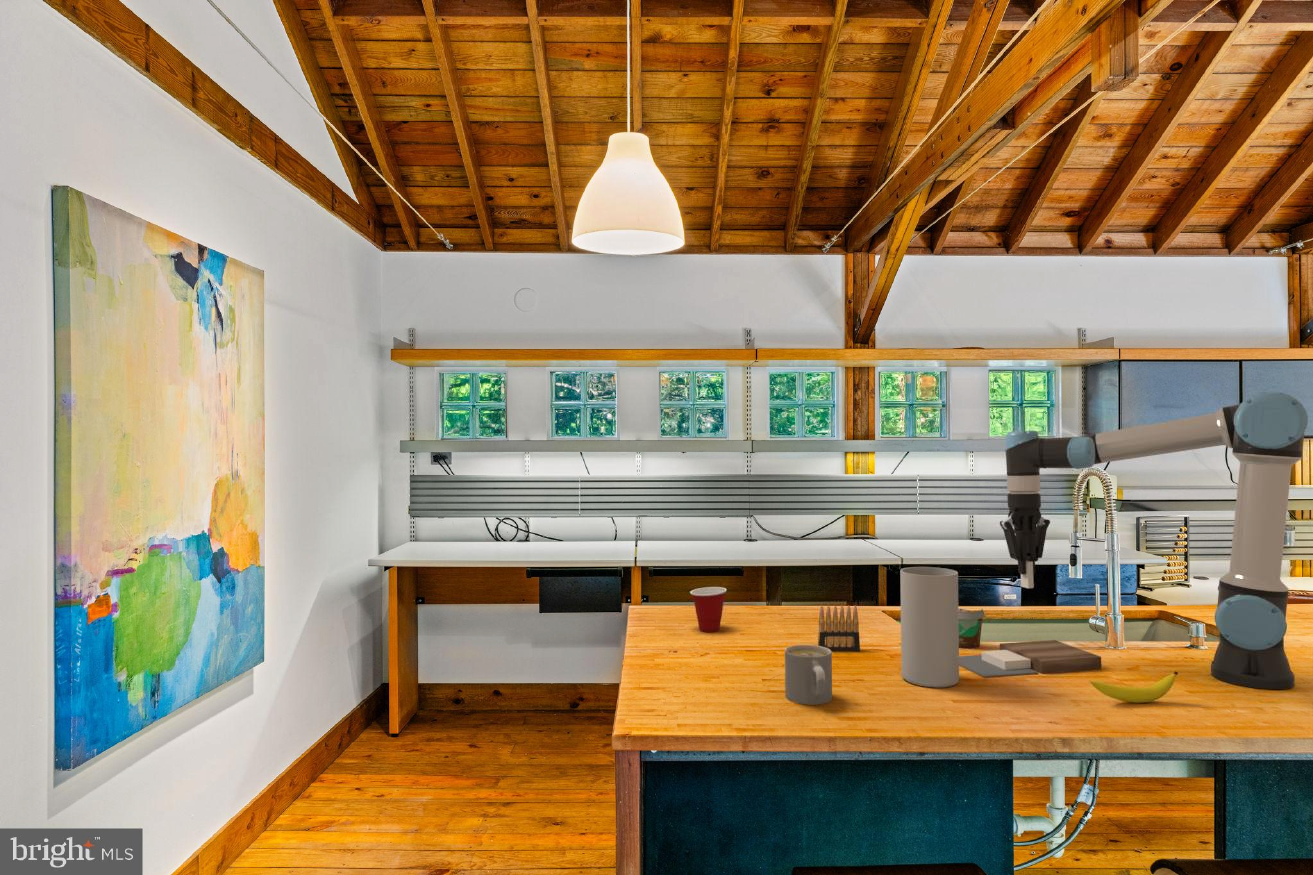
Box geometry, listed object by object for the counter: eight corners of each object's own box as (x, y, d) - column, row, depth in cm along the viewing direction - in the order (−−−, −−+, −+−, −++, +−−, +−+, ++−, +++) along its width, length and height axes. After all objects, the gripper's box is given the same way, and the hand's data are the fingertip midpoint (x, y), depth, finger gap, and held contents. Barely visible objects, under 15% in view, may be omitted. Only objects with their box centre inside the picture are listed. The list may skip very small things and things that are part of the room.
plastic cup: (689, 625, 232) (689, 585, 232) (725, 625, 232) (725, 585, 232) (690, 634, 221) (690, 592, 222) (728, 634, 221) (728, 592, 221)
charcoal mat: (1037, 673, 181) (1037, 672, 181) (983, 677, 179) (983, 675, 179) (996, 655, 197) (996, 653, 197) (945, 658, 195) (945, 657, 195)
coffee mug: (782, 689, 172) (782, 644, 172) (828, 689, 171) (827, 644, 171) (790, 710, 159) (789, 661, 159) (838, 710, 158) (838, 661, 158)
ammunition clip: (858, 649, 204) (858, 604, 204) (860, 651, 202) (859, 605, 202) (817, 649, 204) (817, 604, 205) (819, 651, 203) (818, 605, 203)
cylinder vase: (922, 690, 170) (921, 577, 170) (890, 674, 182) (889, 568, 182) (971, 685, 173) (969, 574, 173) (936, 670, 185) (935, 565, 185)
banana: (1085, 702, 162) (1085, 671, 162) (1172, 699, 163) (1172, 669, 163) (1094, 706, 159) (1093, 675, 159) (1182, 704, 160) (1182, 673, 160)
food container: (933, 646, 206) (933, 609, 207) (937, 641, 212) (936, 604, 212) (983, 651, 201) (983, 613, 201) (985, 646, 206) (985, 608, 206)
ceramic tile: (1030, 667, 185) (1030, 659, 185) (1004, 669, 184) (1004, 661, 184) (1006, 657, 194) (1006, 649, 194) (981, 659, 192) (981, 651, 192)
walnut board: (1101, 669, 185) (1101, 656, 185) (1041, 673, 182) (1041, 660, 182) (1055, 651, 200) (1055, 640, 200) (999, 655, 197) (999, 643, 197)
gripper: (1036, 490, 198) (1039, 583, 197) (991, 492, 195) (994, 586, 195) (1057, 492, 191) (1060, 588, 190) (1010, 494, 188) (1014, 591, 187)
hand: (1027, 587), depth 192 cm, fingers closed
